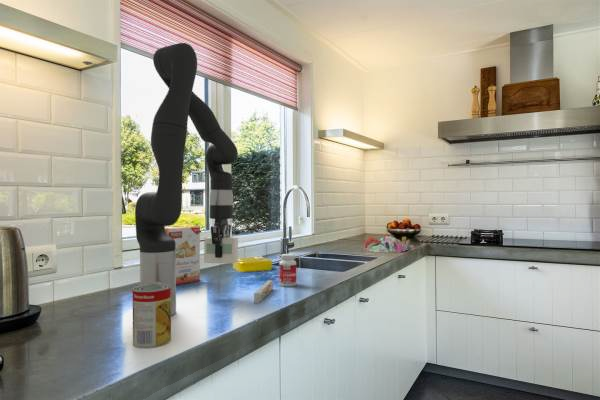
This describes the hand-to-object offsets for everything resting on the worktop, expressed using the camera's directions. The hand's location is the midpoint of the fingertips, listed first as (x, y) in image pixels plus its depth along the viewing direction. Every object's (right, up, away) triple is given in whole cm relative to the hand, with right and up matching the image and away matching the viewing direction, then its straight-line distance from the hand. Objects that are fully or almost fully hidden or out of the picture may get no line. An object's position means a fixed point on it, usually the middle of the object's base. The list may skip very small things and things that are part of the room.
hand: (221, 256), depth 135 cm
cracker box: (-19, -13, +21) cm, 31 cm away
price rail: (+14, -12, -2) cm, 19 cm away
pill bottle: (+21, -13, +15) cm, 29 cm away
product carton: (0, -2, 0) cm, 2 cm away
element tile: (+4, -13, +51) cm, 53 cm away
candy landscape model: (+78, -12, +112) cm, 137 cm away
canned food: (-7, -13, -44) cm, 47 cm away
